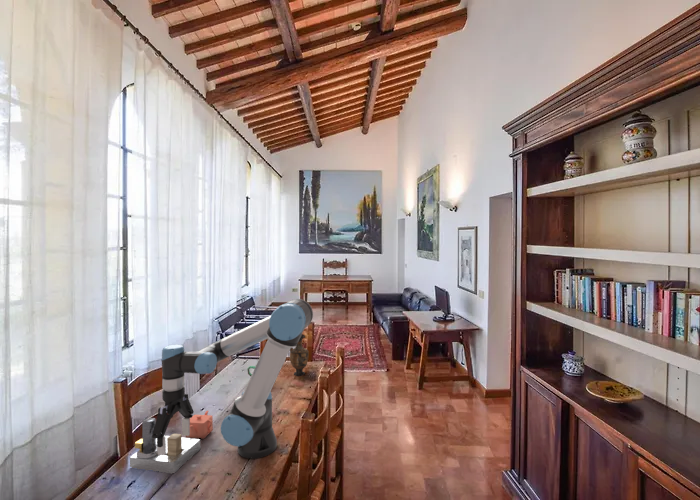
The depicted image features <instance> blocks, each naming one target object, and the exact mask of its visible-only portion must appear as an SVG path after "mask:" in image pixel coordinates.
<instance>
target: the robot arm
mask: <svg viewBox="0 0 700 500" xmlns="http://www.w3.org/2000/svg"><path fill="white" fill-rule="evenodd" d="M313 317H314V311H313V308H312V306H311V304H310V303H309V302H308V301H307V300H304V299H302V298H294V299H292V300H289V301H287V302H286V303H283V304H280V305H278V307H276V308H275V309H274V310H273V312H272V313H271V315H269V316H267V317H265V318H263V319H261V320H259V321H257V322H255V323H252V324H251V325H249V326H247V327H243V328H242V329H240V330H237V331H235V332H234V333H232V334H230V335H227V336H225V337H223V338H222V339H219V340H217V341H214V342H212V343H210V344H209V345H207V346H206V347H204V348H201V349H200V350H198V351H185V347H184V346H183V345H182V344H171V345H170V344H169V345H167V346H165V347H163V348H162V350H161V370H162V372H161V373H162V375H161V376H162V377H161V379H162V382H161V383H162V386H161V387H162V391H161V394H162V395H161V396H162V401H163V402H164V405H163V406H162V407H158V408H157V409H158V410H157V417H156V424H155V427H154V431H153V435H152V438H156V439H157V447H158V455H166V436H167V435H165V434H166V431H167V429H168V427H169V424H170V422H171V419H172V418H173V417H174V415H175V414H176V413H179V414H180V415H182V417H183V418H181V428H182V429H181V431H182V432H181V433H182V436H185V437H186V436H189V435H190V418H192V416H194V415H193V414H194V410H193V407H192V405H191V402H190V400H189V393H185V392H186V390H185V389H186V388H185V384H186V383H185V374H198V375H207V374H209V375H210V374H211V373H214V371H215V369H216V368H217V364H218V363H219V362H221V361H223V360H226V359H227V358H229V357H231V356H233V355H236V354H238V353H239V352H242V351H244V350H246V349H249V348H250V347H253V346H254V345H256V344H259V343H261V342H263V341H266V340H267V341H266V343H265V345H264V347H263V350H262V352H261V354H260V356H259V358H258V360H257V362H256V364H257V365H256V364H255V366H256V367H255V369H253V371H252V373H251V374H252V376H250V378H249V380H248V382H247V384H246V387H245V389H244V391H242V393H241V395H239V396H237V397H236V398H235V400H234V402H233V405H232V406H231V409H230V410H229V413H228V415H226V416H225V417H224V418H223V420H222V422H221V425H220V434H221V435H222V438H223V439H224V441H226V443H227V444H229V445H231V446H233V447H237V453H238V455H239V456H241V457H243V458H244V459H245V458H246V459H261V458H264V457H266V456H269V455H271V454H272V453H273V452H274V451H276V449H277V447H278V445H277V444H278V441H277V436H276V433H275V431H274V428H273V397H272V392H271V391H272V389H273V386H274V385H275V383H276V380H277V378H278V377H279V375H280V372H281V369H282V367H283V366H284V363H285V361H286V360H287V359H286V358H287V357H288V355H289V354H290V348H293V349H294V348H295V347H296V345H297V343H298V341H299V339H300V337H301V335H302V334H303V332H304V331H305V329H306V328H307V327H309V325H310V324H311V323H312V321H313V319H314V318H313Z"/></svg>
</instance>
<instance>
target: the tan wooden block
mask: <svg viewBox="0 0 700 500" xmlns="http://www.w3.org/2000/svg"><path fill="white" fill-rule="evenodd" d="M168 436H169V437H168V438H167V456H175V457H176V456H178V455H179V454H180V453H181V452H182V436H183V435H182V434H181V433H172V434H170V435H168Z"/></svg>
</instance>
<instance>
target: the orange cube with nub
mask: <svg viewBox="0 0 700 500" xmlns="http://www.w3.org/2000/svg"><path fill="white" fill-rule="evenodd" d="M213 421H214V420H213V415H210V414H209V410H207V411H205V413H204V414H194V415H193V416H192V418H190V435H189V436H185V438H192V439H199V438H201V439H202V440H203V439H205V438H207V436H209V434H210V433H211V432H213V430H214V429H213V423H214V422H213ZM201 439H200V440H201Z"/></svg>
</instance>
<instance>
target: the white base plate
mask: <svg viewBox="0 0 700 500" xmlns="http://www.w3.org/2000/svg"><path fill="white" fill-rule="evenodd" d="M165 436H166V455H157V456H155V457H153V458H149V459H139V458H137V452H138V451H136V452H135V453H134V454H132V455H131V456H130V457H129V468H130V467H132V468H137V469H136V470H140V469H145V470H144V471H148V470H153V471H152V472H156V471H159V472H158V473H164V472H166V473H165V474H172V473H174V474H175V473H176V472H177V471H179V470H180V469H181V468H182V467H183V466H184V465H185V464H186V463H187V462H188V461H190V459H192V458H193V457H194V456H195V455H196V454H197V453H198V452H199V451H200V450H201V439H199V438H187V437H182V452H181V453H180V454H179V455H178V456H176V457H175V456H167V438H168V437H169V436H170V435H165ZM156 444H157V439H156ZM195 453H196V454H195ZM194 454H195V455H194ZM193 455H194V456H193ZM192 456H193V457H192ZM187 460H188V461H187ZM186 461H187V462H186ZM185 462H186V463H185ZM184 463H185V464H184ZM183 464H184V465H183ZM182 465H183V466H182ZM181 466H182V467H181ZM180 467H181V468H180ZM132 468H131V469H132ZM179 468H180V469H179Z"/></svg>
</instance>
